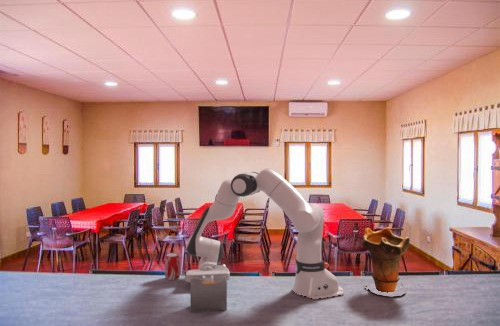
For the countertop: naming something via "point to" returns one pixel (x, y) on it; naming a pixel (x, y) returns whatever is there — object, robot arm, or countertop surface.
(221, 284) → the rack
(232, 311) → the countertop surface
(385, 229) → the decorative vase
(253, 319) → the countertop surface
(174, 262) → the soda can
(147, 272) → the countertop surface
